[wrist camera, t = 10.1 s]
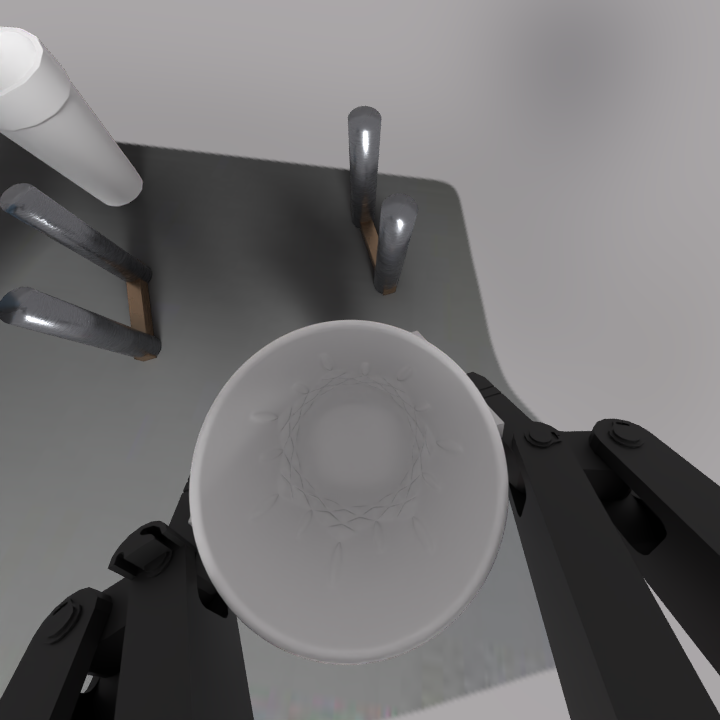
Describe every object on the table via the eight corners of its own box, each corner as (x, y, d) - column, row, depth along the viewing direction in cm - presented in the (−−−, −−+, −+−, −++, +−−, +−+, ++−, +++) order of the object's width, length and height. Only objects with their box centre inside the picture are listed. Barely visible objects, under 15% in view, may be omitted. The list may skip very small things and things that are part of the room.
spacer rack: (137, 362, 30) (-3, 328, 19) (127, 268, 33) (-1, 187, 21) (400, 290, 32) (423, 219, 21) (370, 207, 35) (375, 103, 23)
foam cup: (109, 228, 35) (-37, 118, 22) (73, 187, 36) (-84, 62, 23) (167, 187, 36) (62, 61, 23) (130, 150, 37) (12, 12, 25)
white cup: (323, 358, 17) (274, 281, 7) (435, 402, 17) (542, 379, 7) (272, 476, 16) (123, 573, 6) (393, 529, 15) (457, 739, 5)
